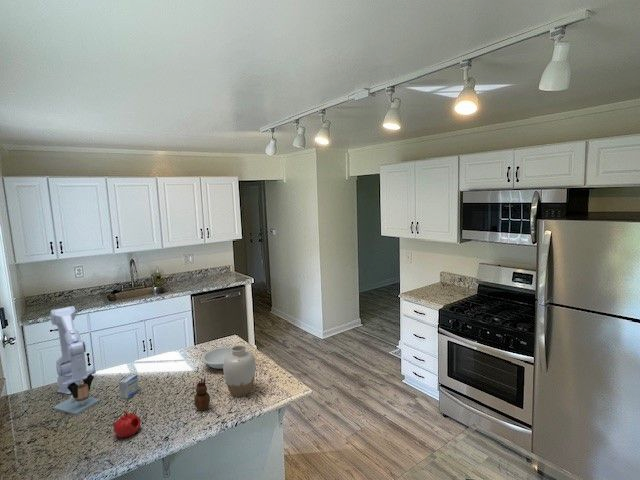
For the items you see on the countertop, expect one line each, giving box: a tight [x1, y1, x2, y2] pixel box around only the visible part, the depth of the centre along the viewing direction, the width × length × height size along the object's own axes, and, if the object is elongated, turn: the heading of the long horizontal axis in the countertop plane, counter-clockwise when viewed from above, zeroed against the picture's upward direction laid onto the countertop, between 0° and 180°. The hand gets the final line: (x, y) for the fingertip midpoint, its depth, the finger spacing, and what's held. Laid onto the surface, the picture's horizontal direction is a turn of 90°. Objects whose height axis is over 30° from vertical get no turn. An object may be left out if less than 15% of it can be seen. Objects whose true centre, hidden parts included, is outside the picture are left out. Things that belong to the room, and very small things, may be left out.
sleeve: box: [75, 383, 90, 402], centre depth 166 cm, size 5×5×6 cm
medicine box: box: [118, 374, 140, 399], centre depth 176 cm, size 8×4×9 cm, turn 168°
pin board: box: [52, 394, 101, 416], centre depth 168 cm, size 16×12×4 cm
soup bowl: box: [201, 345, 235, 370], centre depth 205 cm, size 24×24×7 cm
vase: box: [222, 344, 257, 398], centre depth 175 cm, size 16×16×23 cm
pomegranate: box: [113, 410, 142, 438], centre depth 146 cm, size 10×10×9 cm
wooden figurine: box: [193, 377, 211, 411], centre depth 162 cm, size 7×6×15 cm
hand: (81, 394), depth 167 cm, fingers closed on sleeve, 5 cm apart
